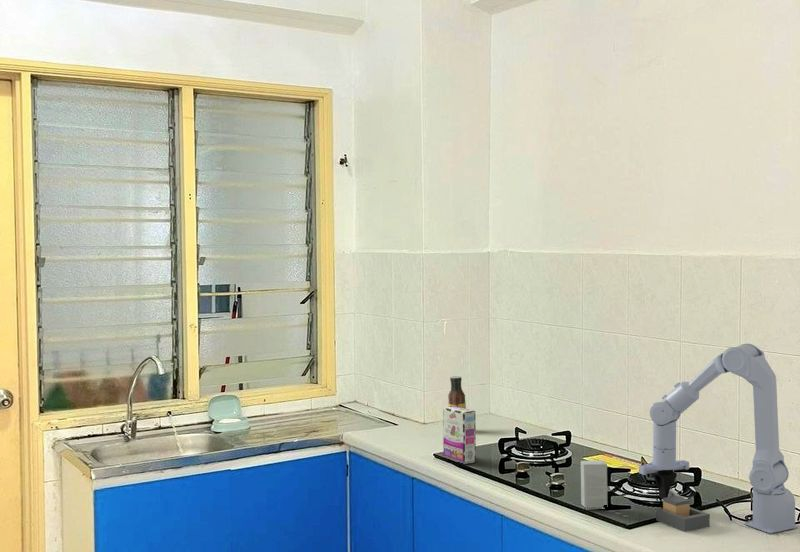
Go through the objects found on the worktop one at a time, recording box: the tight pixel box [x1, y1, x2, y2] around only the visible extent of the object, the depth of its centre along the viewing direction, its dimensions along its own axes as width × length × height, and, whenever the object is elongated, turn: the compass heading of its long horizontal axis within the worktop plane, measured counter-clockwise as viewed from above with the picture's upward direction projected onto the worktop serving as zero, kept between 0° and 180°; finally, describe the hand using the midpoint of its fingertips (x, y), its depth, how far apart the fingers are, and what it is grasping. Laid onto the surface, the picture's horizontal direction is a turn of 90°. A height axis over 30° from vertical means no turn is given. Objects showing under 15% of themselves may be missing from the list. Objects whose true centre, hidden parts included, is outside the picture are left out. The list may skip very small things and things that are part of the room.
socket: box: [655, 506, 711, 533], centre depth 220 cm, size 10×12×3 cm
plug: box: [662, 496, 691, 517], centre depth 221 cm, size 4×4×6 cm
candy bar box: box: [442, 406, 477, 462], centre depth 282 cm, size 11×5×16 cm, turn 33°
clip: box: [668, 488, 685, 498], centre depth 232 cm, size 14×2×4 cm, turn 5°
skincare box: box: [580, 459, 608, 508], centre depth 232 cm, size 6×4×12 cm
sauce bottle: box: [447, 375, 467, 409], centre depth 323 cm, size 7×6×20 cm
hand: (663, 498), depth 233 cm, fingers closed
